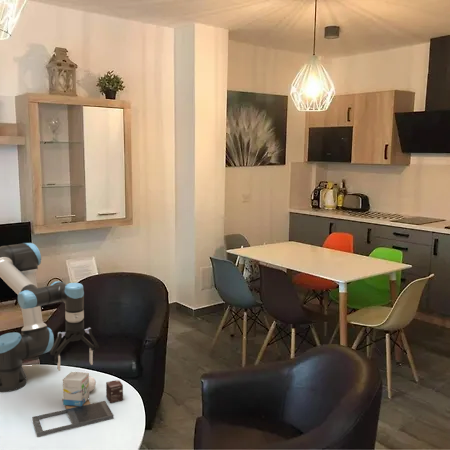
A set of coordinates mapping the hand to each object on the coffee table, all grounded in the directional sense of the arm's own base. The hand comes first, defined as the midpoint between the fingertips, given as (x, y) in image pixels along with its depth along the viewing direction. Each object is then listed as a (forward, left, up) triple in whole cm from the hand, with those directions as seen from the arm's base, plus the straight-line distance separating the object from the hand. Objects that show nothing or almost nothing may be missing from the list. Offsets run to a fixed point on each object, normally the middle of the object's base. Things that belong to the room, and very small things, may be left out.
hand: (75, 366), depth 217 cm
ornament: (-9, +7, -17) cm, 21 cm away
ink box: (+1, 0, -16) cm, 16 cm away
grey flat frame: (+12, -4, -17) cm, 22 cm away
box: (+3, +16, -17) cm, 24 cm away
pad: (0, 0, -17) cm, 17 cm away
